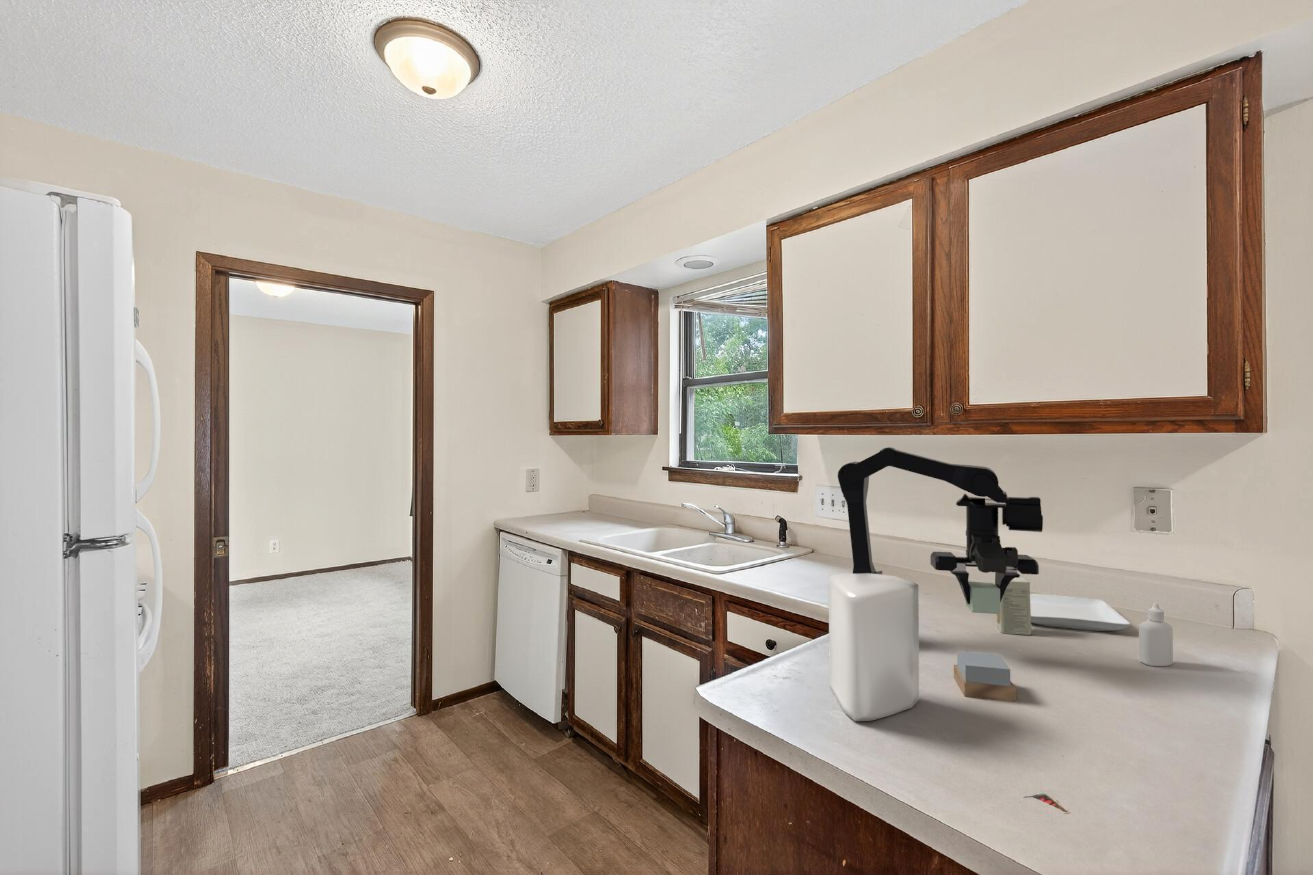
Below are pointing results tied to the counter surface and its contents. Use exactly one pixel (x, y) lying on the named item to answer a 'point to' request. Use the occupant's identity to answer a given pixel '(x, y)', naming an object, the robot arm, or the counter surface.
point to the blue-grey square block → (983, 668)
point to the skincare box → (1015, 608)
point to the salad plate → (1075, 613)
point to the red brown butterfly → (1049, 801)
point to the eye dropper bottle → (1155, 639)
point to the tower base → (984, 689)
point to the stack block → (984, 598)
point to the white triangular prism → (873, 644)
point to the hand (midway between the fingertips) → (982, 604)
